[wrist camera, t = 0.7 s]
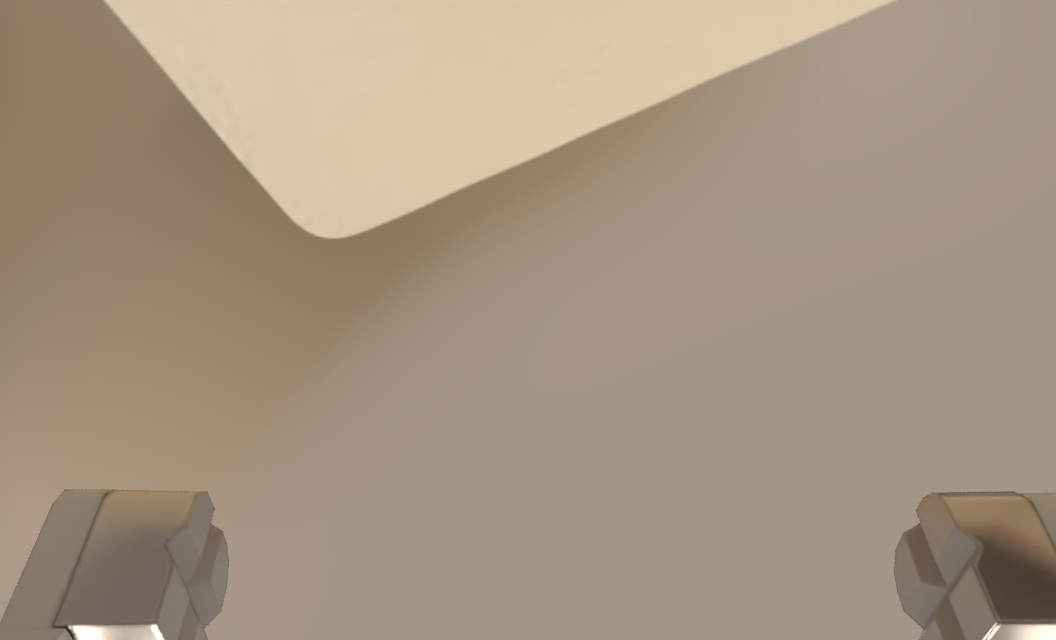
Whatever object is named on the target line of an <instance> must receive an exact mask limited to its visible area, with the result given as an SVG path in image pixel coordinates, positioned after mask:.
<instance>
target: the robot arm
mask: <svg viewBox="0 0 1056 640" xmlns="http://www.w3.org/2000/svg"><path fill="white" fill-rule="evenodd" d="M916 512H917V515H918V518H919V521H920V523H919V524H918V525H916V526H914V527H913V528H911V529H909V530H908V531H906V532H904V533H903V535H902V537H901V539H900V541H899V543H898V545H897V548H896V550H895V563H894V575H895V581H896V587H897V592H898V595H899V598H900V601H901V604H902V607H903V610H904V612H905V613H907V614H908V615H909V616H910V617H911V618H912V619H913V620H914V621H915V622H916V623H917V624H918V625H920V626H921V627H922V628H923V631H922V634H921V636H920V639H919V640H1056V493H1015V492H955V493H954V492H951V493H931V494H929V495H927V496H925V497H923V499H922V501H921V502H920V504H919V506H918V508H917V510H916ZM213 513H214V506H213V504H212V501H211V499H210V497H209V494H208V492H207V491H150V490H147V491H146V490H114V489H65V490H64V492H62V494H61V495H60V496H59V497H58V498H57V499H56V501H55V502H54V503H53V504H52V506H51V509H50V511H49V513H48V515H47V518H46V520H45V522H44V524H43V527H42V529H41V531H40V534H39V536H38V538H37V540H36V542H35V545H34V547H33V549H32V552H31V554H30V556H29V558H28V561H27V563H26V565H25V567H24V570H23V572H22V574H21V577H20V579H19V581H18V583H17V586H16V588H15V590H14V592H13V595H12V597H11V599H10V602H9V604H8V606H7V608H6V611H5V613H4V615H3V617H2V620H1V622H0V640H208V638H207V636H206V633H205V631H204V628H205V627H206V626H207V625H208V624H209V623H210V622H211V621H212V620H213V619H214V618H215V617H216V616H217V615H218V614H219V613H220V612H221V610H222V606H223V601H224V597H225V593H226V589H227V579H228V566H229V558H228V549H227V543H226V540H225V537H224V534H223V531H221V530H220V529H218V528H216V527H215V526H214V525H212V524H211V520H212V516H213Z"/></svg>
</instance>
